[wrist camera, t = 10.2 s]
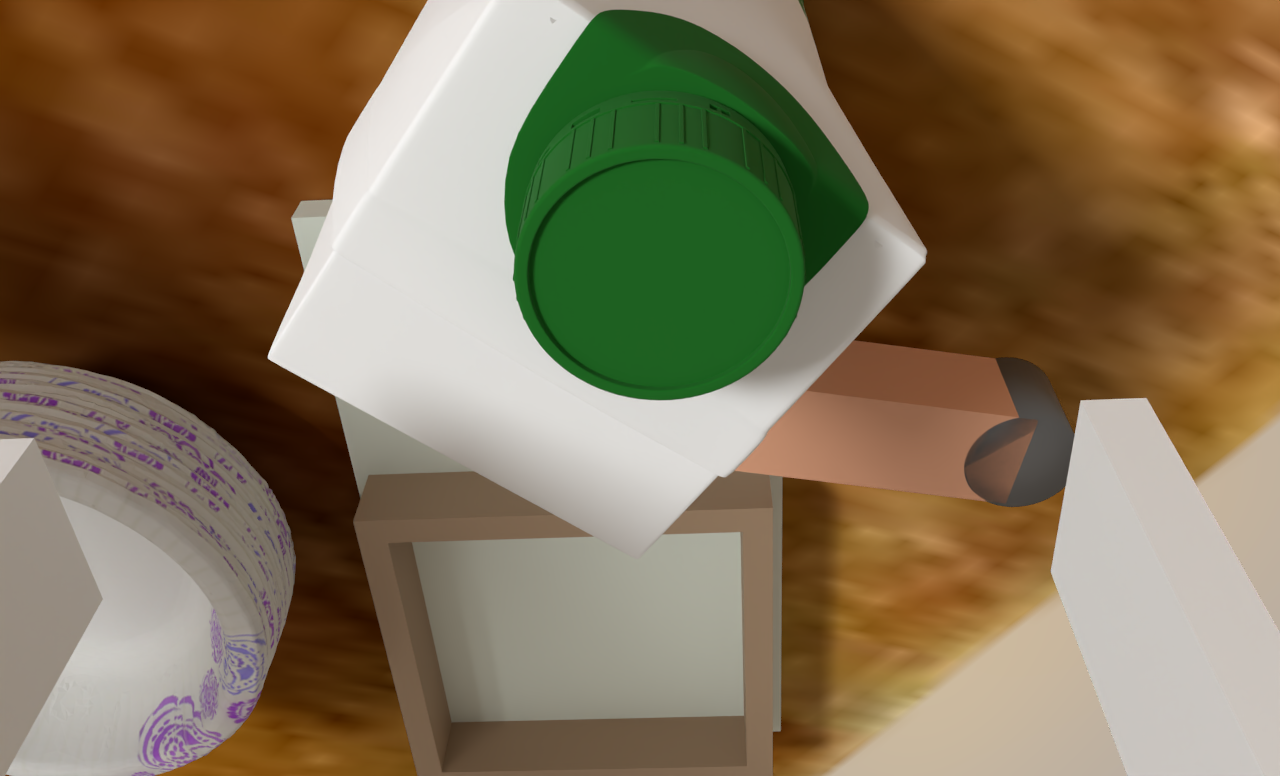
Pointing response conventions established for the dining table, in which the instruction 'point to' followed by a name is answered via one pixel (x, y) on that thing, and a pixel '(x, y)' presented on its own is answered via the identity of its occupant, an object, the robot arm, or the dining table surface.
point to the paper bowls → (151, 575)
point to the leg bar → (925, 427)
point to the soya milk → (597, 247)
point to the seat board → (565, 618)
